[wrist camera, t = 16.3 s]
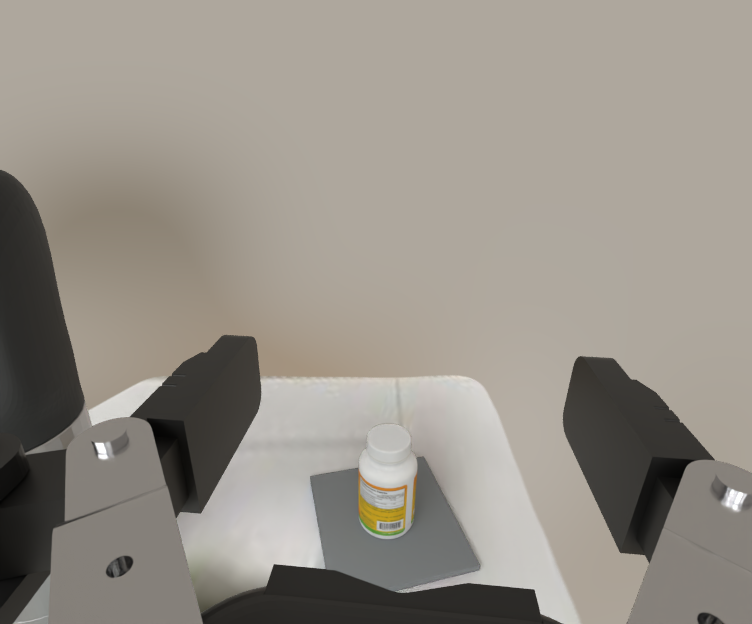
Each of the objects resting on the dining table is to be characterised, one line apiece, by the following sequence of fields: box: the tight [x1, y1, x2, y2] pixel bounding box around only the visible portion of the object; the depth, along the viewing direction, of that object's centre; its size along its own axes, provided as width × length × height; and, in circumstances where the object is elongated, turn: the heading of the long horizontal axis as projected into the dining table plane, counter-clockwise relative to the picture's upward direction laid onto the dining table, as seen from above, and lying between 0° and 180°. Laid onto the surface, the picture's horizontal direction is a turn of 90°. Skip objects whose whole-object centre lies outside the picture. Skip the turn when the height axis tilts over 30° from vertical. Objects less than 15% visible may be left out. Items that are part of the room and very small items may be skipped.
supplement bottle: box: [358, 423, 417, 539], centre depth 41 cm, size 5×5×10 cm
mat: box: [310, 457, 480, 591], centre depth 43 cm, size 13×14×1 cm
